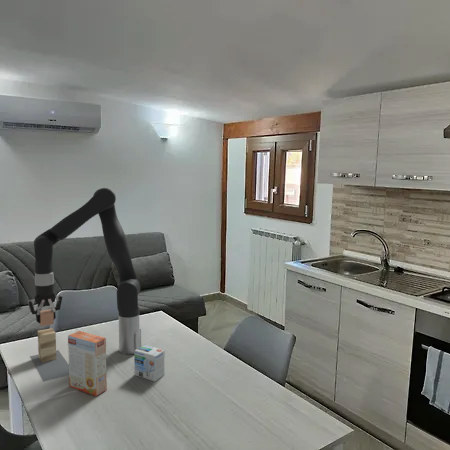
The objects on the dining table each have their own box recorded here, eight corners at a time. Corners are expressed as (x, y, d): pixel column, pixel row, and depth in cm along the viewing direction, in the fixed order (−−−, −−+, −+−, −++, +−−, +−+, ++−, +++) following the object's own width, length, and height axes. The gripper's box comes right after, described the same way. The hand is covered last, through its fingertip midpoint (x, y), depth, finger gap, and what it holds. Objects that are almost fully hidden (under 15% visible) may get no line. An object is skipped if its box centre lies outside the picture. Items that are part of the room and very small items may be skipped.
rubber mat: (74, 374, 174) (74, 373, 174) (43, 382, 167) (43, 381, 167) (58, 350, 195) (58, 350, 195) (29, 357, 188) (29, 356, 188)
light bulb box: (133, 375, 174) (133, 350, 173) (144, 368, 180) (144, 344, 179) (155, 382, 169) (155, 356, 168) (165, 374, 175) (165, 349, 174)
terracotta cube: (53, 323, 183) (53, 312, 183) (41, 326, 181) (40, 314, 180) (50, 320, 187) (50, 309, 187) (38, 322, 185) (38, 311, 184)
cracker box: (107, 389, 163) (106, 337, 160) (96, 397, 157) (94, 342, 155) (80, 380, 169) (79, 329, 166) (68, 387, 164) (67, 335, 161)
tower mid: (56, 345, 185) (55, 332, 184) (41, 349, 182) (40, 335, 181) (52, 341, 190) (52, 328, 189) (38, 344, 187) (37, 330, 186)
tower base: (56, 359, 186) (56, 345, 185) (41, 362, 183) (41, 349, 182) (53, 354, 191) (52, 341, 190) (38, 357, 188) (38, 344, 187)
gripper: (59, 278, 189) (60, 315, 191) (24, 283, 180) (26, 321, 183) (64, 282, 183) (65, 320, 185) (28, 287, 174) (29, 327, 177)
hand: (46, 321), depth 184 cm, fingers closed on terracotta cube, 5 cm apart
